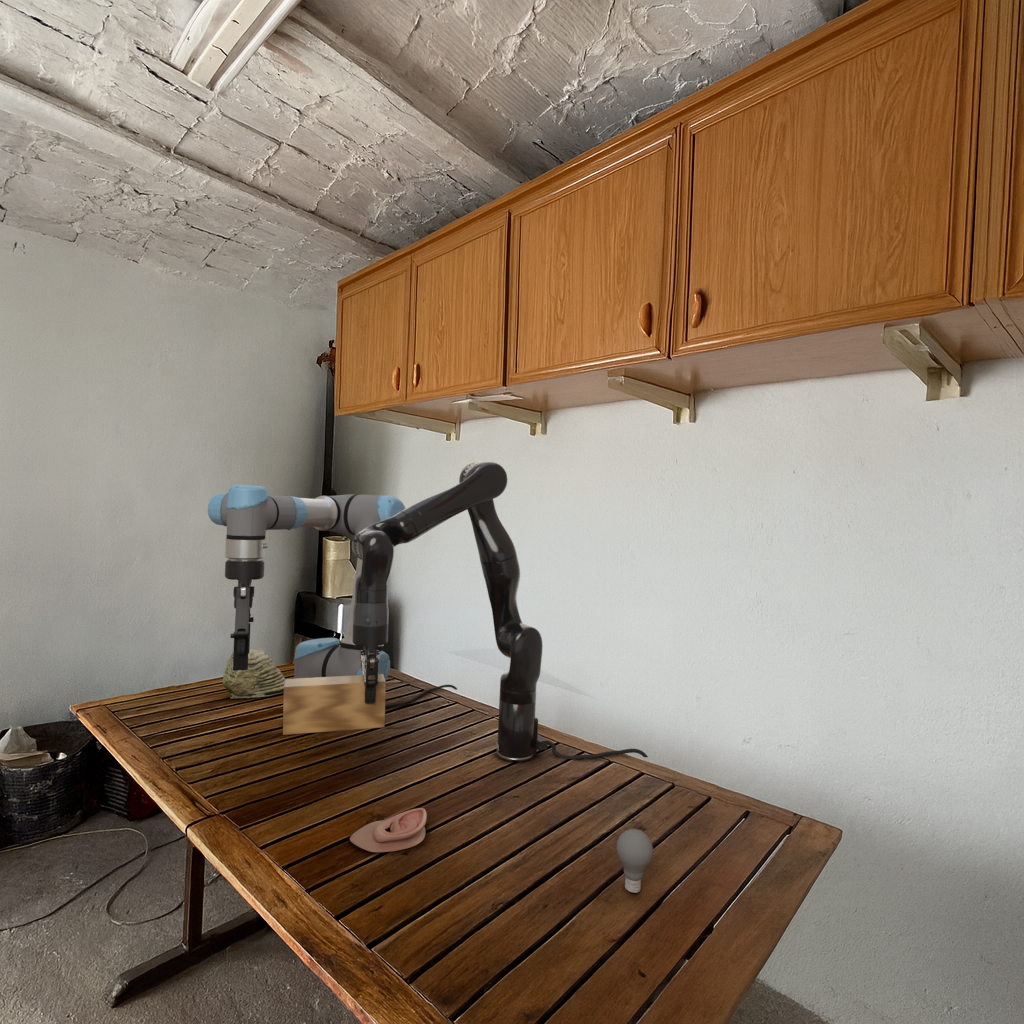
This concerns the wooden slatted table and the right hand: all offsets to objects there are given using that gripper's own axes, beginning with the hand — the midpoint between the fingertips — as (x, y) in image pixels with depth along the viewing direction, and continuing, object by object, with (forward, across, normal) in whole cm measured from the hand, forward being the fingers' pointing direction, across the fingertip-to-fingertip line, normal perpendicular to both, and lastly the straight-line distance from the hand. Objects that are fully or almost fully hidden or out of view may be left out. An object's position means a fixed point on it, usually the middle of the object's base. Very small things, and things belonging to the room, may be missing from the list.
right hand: (368, 698), depth 138 cm
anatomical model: (+20, -21, -3) cm, 29 cm away
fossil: (+20, +71, +29) cm, 80 cm away
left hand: (-9, +2, +26) cm, 28 cm away
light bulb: (+20, -47, -40) cm, 65 cm away
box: (+6, 0, +7) cm, 9 cm away
